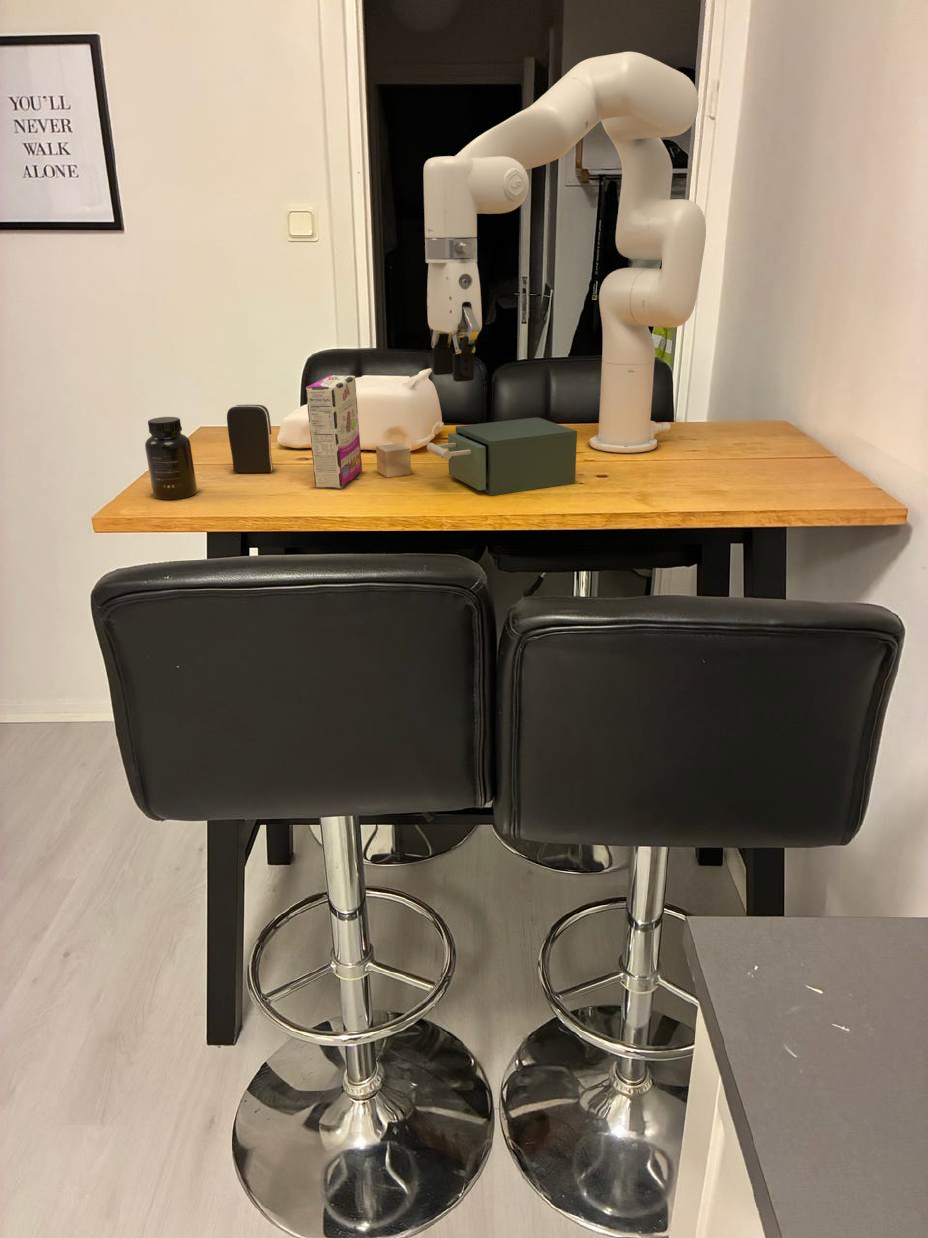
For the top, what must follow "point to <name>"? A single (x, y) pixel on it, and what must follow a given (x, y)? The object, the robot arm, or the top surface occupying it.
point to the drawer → (465, 459)
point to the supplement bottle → (170, 460)
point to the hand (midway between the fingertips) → (453, 376)
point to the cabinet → (525, 454)
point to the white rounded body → (381, 413)
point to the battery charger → (250, 438)
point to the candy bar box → (334, 431)
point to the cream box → (393, 460)
